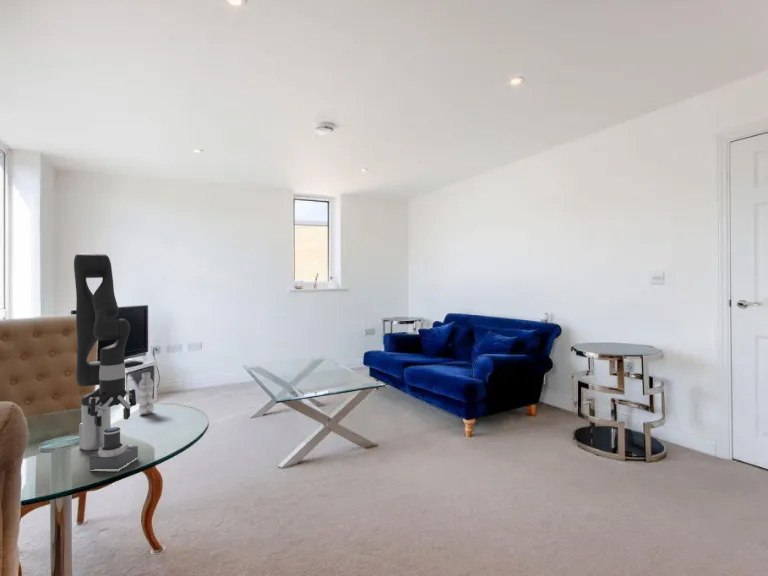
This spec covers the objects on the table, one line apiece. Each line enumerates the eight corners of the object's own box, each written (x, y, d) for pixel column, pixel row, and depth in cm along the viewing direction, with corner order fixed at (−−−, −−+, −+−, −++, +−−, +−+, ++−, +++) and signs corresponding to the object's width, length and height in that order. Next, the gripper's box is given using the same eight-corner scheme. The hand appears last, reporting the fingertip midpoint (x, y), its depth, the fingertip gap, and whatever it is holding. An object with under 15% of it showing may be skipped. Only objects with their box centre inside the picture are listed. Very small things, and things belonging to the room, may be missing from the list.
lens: (107, 456, 136) (107, 432, 136) (101, 453, 139) (101, 429, 139) (123, 451, 140) (122, 428, 140) (116, 448, 143) (116, 425, 143)
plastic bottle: (150, 411, 200) (150, 371, 200) (156, 413, 196) (156, 373, 196) (136, 414, 195) (136, 373, 195) (141, 417, 191) (141, 375, 191)
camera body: (89, 471, 136) (89, 451, 136) (111, 458, 146) (111, 439, 146) (118, 472, 136) (118, 451, 136) (137, 459, 146) (137, 440, 146)
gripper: (93, 382, 131) (94, 431, 132) (139, 373, 143) (139, 418, 144) (83, 379, 135) (84, 426, 136) (129, 370, 147) (129, 414, 148)
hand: (112, 422), depth 140 cm, fingers open, 8 cm apart
